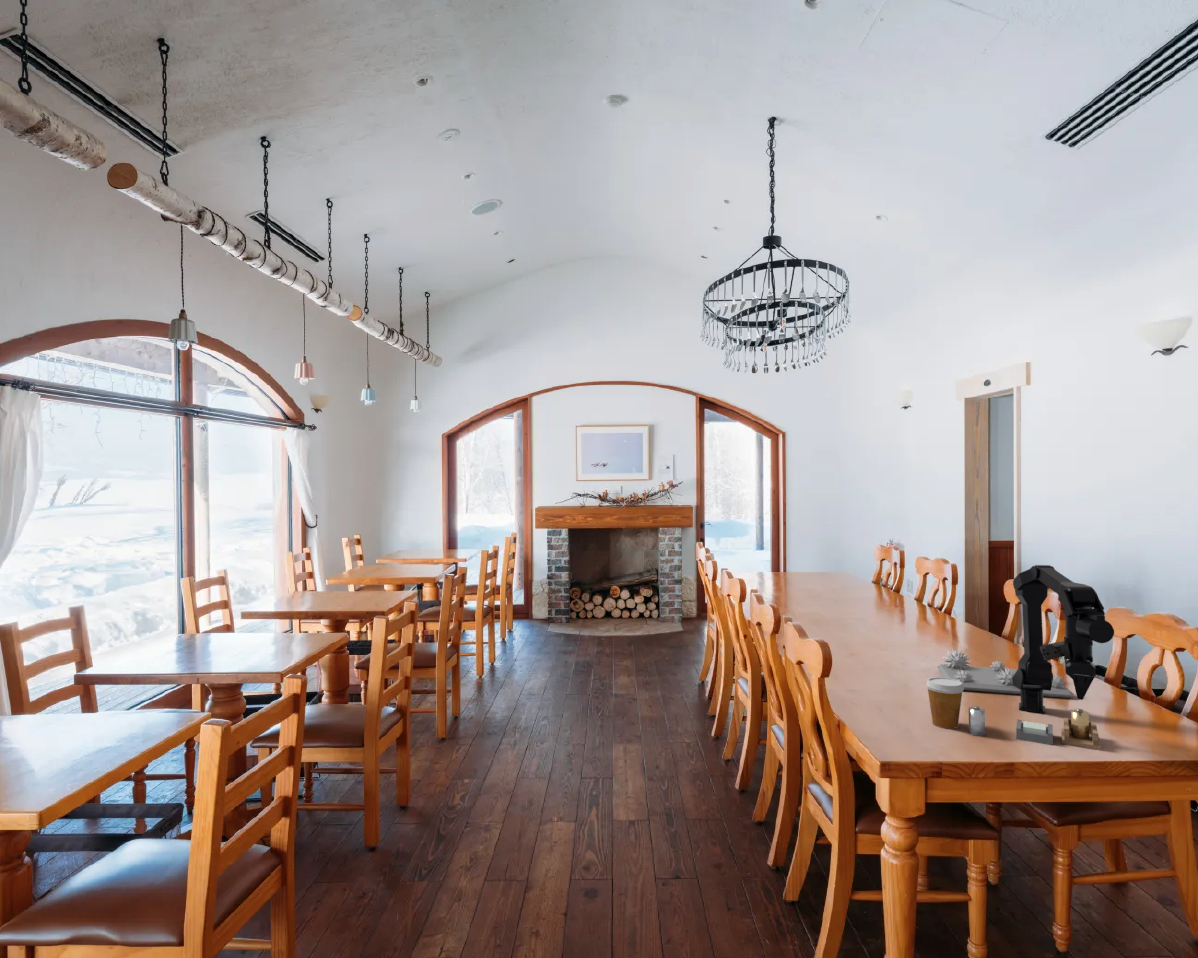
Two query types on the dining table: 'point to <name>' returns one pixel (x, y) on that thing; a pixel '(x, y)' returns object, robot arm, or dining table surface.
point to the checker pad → (1034, 727)
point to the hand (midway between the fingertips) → (1079, 694)
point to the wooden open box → (1090, 743)
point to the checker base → (1034, 734)
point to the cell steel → (976, 721)
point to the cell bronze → (1080, 724)
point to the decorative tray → (991, 677)
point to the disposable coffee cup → (945, 701)
